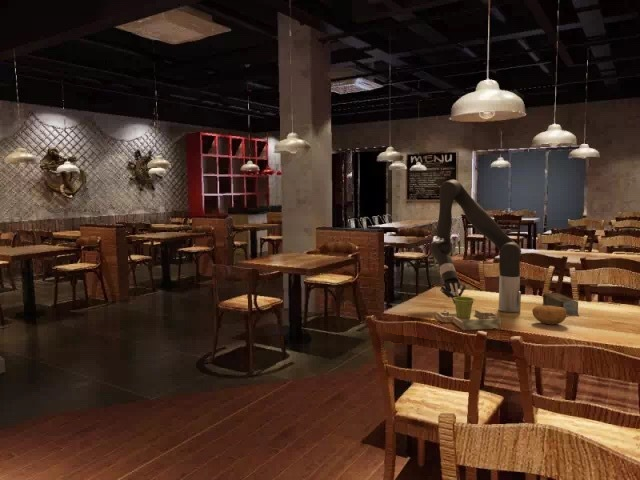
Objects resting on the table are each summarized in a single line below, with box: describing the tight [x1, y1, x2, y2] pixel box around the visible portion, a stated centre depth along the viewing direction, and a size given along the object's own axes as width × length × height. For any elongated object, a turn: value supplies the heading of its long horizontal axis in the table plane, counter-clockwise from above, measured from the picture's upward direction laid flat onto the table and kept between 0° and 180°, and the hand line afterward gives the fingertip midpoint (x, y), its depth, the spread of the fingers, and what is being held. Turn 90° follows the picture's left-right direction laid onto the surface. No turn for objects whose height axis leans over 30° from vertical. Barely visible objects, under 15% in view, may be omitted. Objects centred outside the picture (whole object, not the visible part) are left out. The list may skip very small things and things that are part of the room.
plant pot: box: [452, 296, 475, 319], centre depth 237 cm, size 9×9×9 cm
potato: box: [531, 305, 568, 325], centre depth 224 cm, size 10×14×8 cm
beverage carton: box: [542, 292, 579, 315], centre depth 251 cm, size 8×19×7 cm, turn 4°
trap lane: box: [435, 309, 501, 331], centre depth 228 cm, size 26×23×4 cm
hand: (457, 303), depth 244 cm, fingers closed
